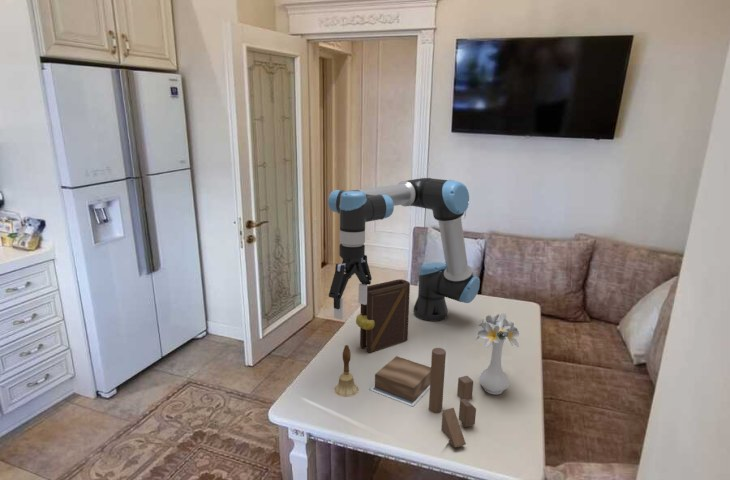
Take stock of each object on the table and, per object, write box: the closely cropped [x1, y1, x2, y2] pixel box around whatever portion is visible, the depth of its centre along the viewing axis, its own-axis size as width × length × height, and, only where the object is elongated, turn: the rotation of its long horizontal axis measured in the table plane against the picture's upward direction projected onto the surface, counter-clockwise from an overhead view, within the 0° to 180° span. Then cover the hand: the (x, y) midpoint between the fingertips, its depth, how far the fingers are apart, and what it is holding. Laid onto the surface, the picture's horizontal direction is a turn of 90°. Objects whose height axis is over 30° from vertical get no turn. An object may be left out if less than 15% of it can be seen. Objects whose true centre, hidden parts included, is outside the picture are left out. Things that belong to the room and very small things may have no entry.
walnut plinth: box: [374, 355, 431, 402], centre depth 146 cm, size 14×14×5 cm
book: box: [355, 278, 411, 355], centre depth 170 cm, size 22×8×25 cm, turn 123°
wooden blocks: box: [428, 347, 477, 448], centre depth 129 cm, size 17×20×20 cm
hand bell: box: [333, 344, 360, 398], centre depth 142 cm, size 8×8×16 cm
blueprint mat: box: [368, 384, 430, 408], centre depth 147 cm, size 18×16×1 cm
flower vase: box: [475, 312, 520, 396], centre depth 144 cm, size 13×18×25 cm
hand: (350, 310), depth 138 cm, fingers open, 13 cm apart
